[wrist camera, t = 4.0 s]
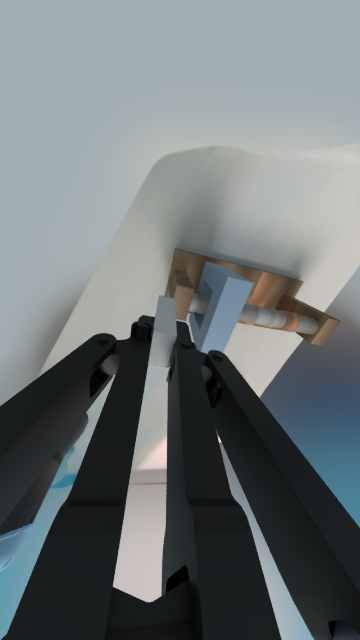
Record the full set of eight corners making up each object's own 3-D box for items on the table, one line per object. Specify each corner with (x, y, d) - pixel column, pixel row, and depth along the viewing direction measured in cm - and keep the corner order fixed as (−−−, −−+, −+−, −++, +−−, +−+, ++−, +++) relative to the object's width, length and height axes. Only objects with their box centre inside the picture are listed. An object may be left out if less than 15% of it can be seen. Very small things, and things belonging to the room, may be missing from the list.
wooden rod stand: (163, 306, 30) (161, 337, 20) (175, 248, 25) (178, 255, 16) (272, 327, 33) (312, 362, 24) (299, 280, 29) (360, 300, 20)
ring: (188, 319, 26) (198, 358, 18) (205, 261, 22) (227, 277, 14) (203, 321, 27) (218, 361, 18) (222, 265, 23) (254, 283, 14)
